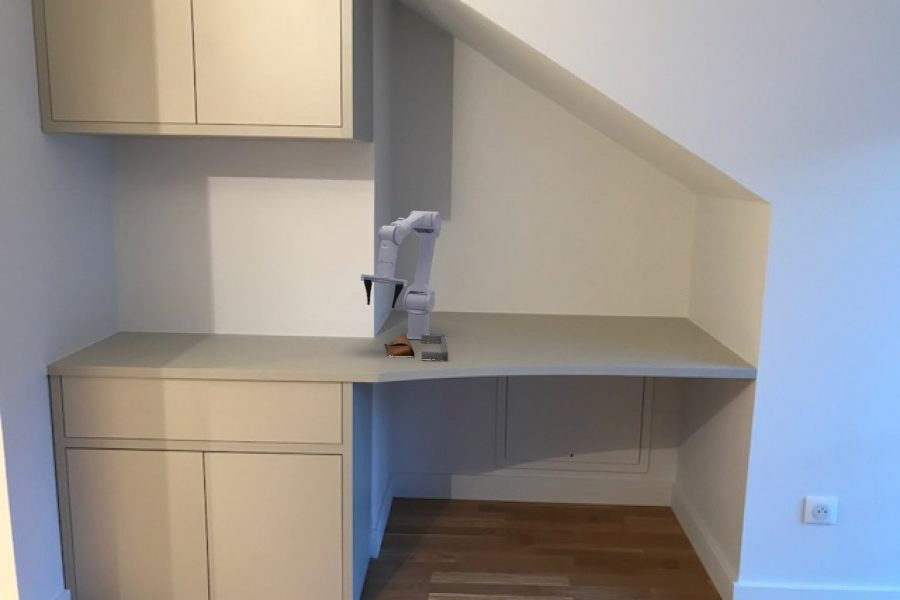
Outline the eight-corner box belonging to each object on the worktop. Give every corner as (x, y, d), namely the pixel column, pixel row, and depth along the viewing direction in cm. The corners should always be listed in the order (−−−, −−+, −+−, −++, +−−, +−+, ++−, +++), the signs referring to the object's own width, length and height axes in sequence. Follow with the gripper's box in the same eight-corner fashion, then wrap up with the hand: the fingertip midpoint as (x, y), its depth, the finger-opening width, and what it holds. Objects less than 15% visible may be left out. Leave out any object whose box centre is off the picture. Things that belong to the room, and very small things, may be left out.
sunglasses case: (382, 343, 236) (392, 327, 236) (400, 353, 238) (410, 337, 238) (387, 358, 219) (398, 340, 218) (406, 368, 221) (418, 350, 220)
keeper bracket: (421, 342, 240) (421, 334, 240) (444, 342, 241) (444, 335, 240) (421, 360, 217) (421, 352, 216) (447, 361, 217) (447, 353, 217)
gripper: (362, 258, 216) (356, 302, 216) (409, 265, 217) (403, 309, 216) (363, 261, 223) (358, 303, 223) (409, 267, 224) (403, 309, 224)
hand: (380, 306), depth 220 cm, fingers open, 7 cm apart
